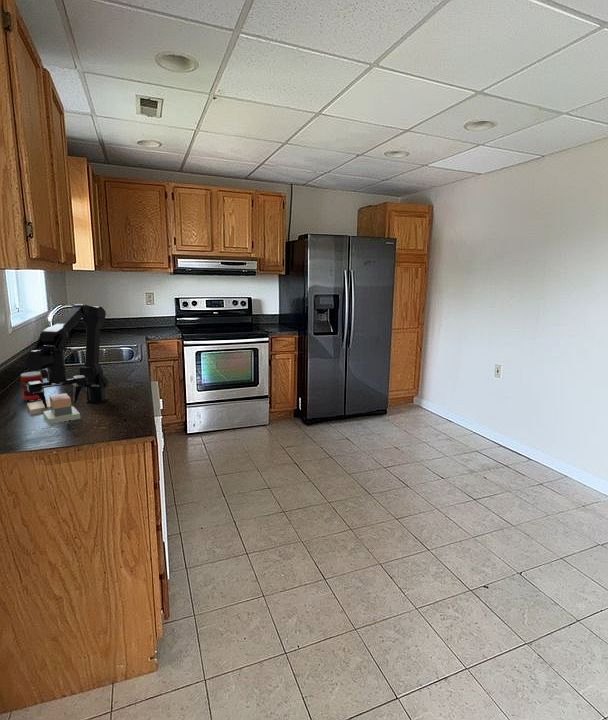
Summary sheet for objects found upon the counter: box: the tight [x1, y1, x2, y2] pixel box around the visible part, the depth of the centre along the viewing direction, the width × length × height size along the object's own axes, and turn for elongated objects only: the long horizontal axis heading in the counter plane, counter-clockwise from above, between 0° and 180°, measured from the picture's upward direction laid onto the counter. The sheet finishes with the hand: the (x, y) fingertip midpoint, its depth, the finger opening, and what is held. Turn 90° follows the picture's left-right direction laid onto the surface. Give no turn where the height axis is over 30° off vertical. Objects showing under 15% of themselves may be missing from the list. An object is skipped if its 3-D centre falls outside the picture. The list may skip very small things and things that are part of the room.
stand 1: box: [26, 399, 51, 415], centre depth 164 cm, size 11×10×2 cm
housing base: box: [50, 404, 72, 417], centre depth 154 cm, size 8×6×3 cm
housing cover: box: [48, 392, 72, 409], centre depth 153 cm, size 8×6×3 cm
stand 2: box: [42, 405, 81, 425], centre depth 155 cm, size 11×10×2 cm
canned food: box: [20, 371, 45, 401], centre depth 176 cm, size 8×8×11 cm
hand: (60, 406), depth 154 cm, fingers open, 9 cm apart
